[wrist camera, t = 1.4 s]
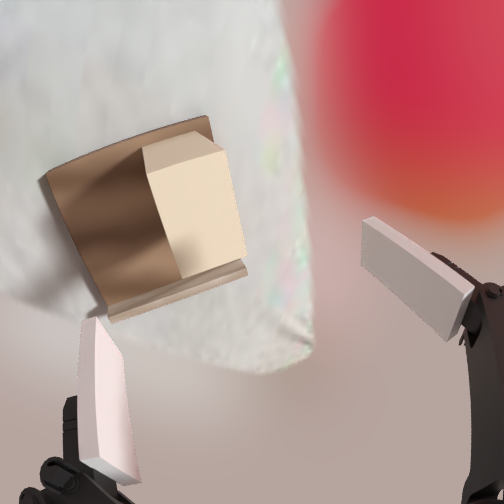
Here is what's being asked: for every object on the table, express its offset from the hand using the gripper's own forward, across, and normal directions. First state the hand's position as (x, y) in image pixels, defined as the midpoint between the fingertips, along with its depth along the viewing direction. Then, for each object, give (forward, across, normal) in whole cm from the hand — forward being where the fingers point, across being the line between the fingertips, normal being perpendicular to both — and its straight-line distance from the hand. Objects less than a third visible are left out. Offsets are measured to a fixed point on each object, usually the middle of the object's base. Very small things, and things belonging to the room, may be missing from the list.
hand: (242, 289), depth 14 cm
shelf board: (+19, -4, -3) cm, 20 cm away
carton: (+18, 0, 0) cm, 18 cm away
